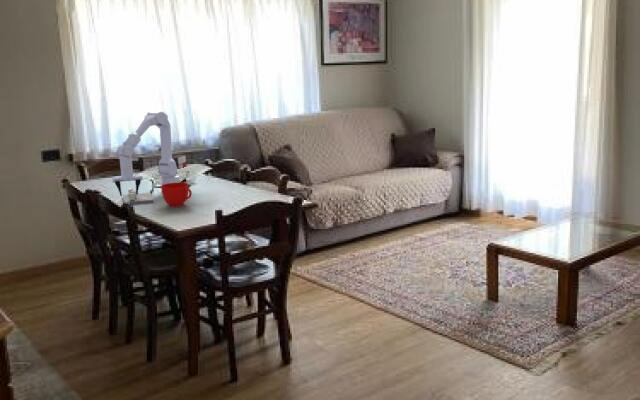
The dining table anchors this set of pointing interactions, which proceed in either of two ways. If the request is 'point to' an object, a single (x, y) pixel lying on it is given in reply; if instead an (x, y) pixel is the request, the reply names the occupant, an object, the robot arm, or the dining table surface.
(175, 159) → the red and white box
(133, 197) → the sage knob
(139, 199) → the switch base
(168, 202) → the ceramic cup
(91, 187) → the dining table surface
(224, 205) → the dining table surface
